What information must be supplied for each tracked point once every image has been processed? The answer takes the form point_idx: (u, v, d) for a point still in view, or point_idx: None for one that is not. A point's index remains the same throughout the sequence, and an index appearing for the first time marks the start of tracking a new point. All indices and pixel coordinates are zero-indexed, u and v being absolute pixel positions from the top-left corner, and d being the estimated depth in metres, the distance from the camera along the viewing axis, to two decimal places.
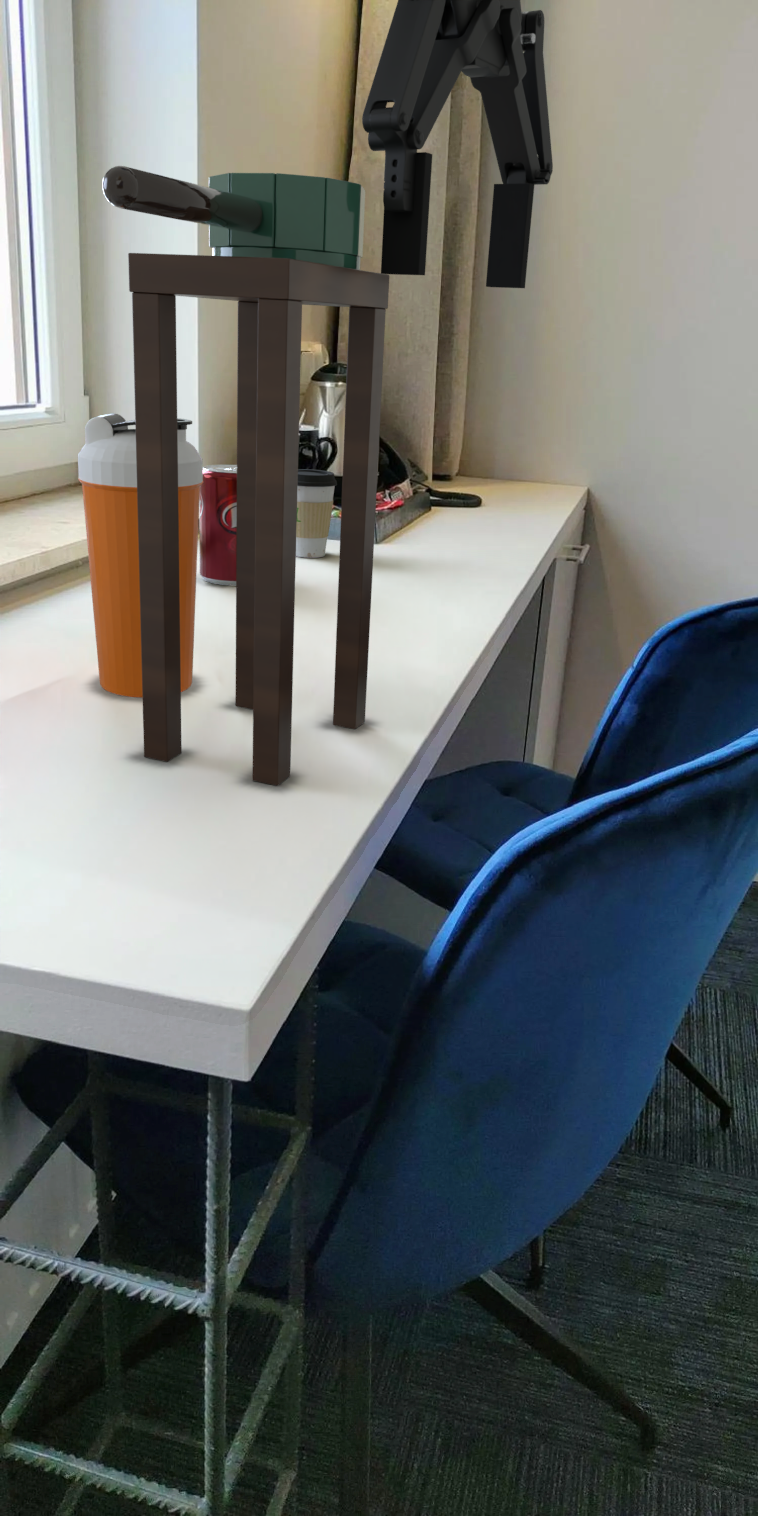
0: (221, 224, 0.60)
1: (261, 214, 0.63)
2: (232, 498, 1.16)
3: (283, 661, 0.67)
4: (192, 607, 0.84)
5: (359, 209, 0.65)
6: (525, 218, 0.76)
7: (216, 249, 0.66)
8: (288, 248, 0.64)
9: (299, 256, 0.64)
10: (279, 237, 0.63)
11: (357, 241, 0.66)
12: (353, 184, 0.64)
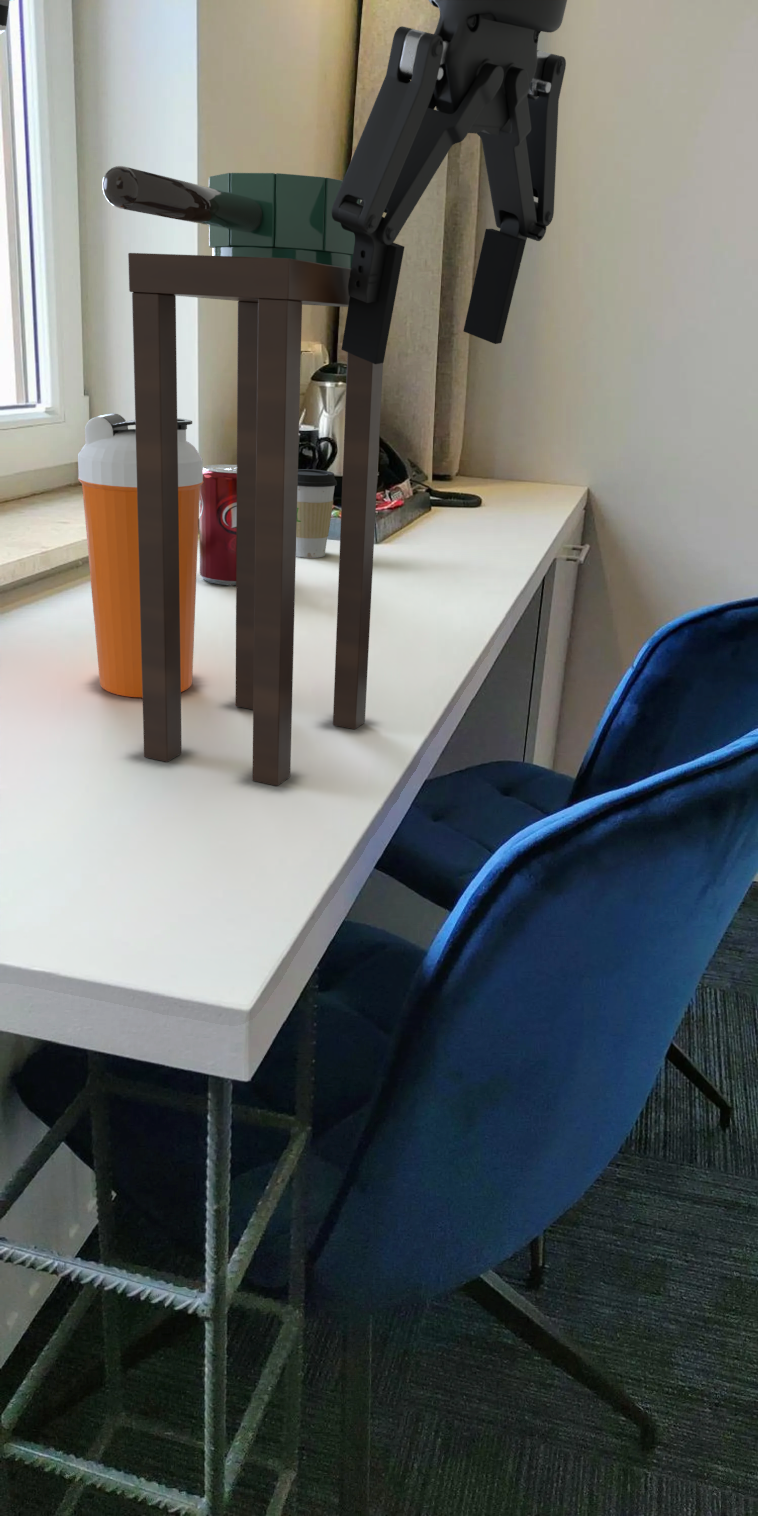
0: (221, 224, 0.60)
1: (261, 214, 0.63)
2: (232, 498, 1.16)
3: (283, 661, 0.67)
4: (192, 607, 0.84)
5: None
6: (510, 275, 0.72)
7: (216, 249, 0.66)
8: (288, 248, 0.64)
9: (299, 256, 0.64)
10: (279, 237, 0.63)
11: None
12: None
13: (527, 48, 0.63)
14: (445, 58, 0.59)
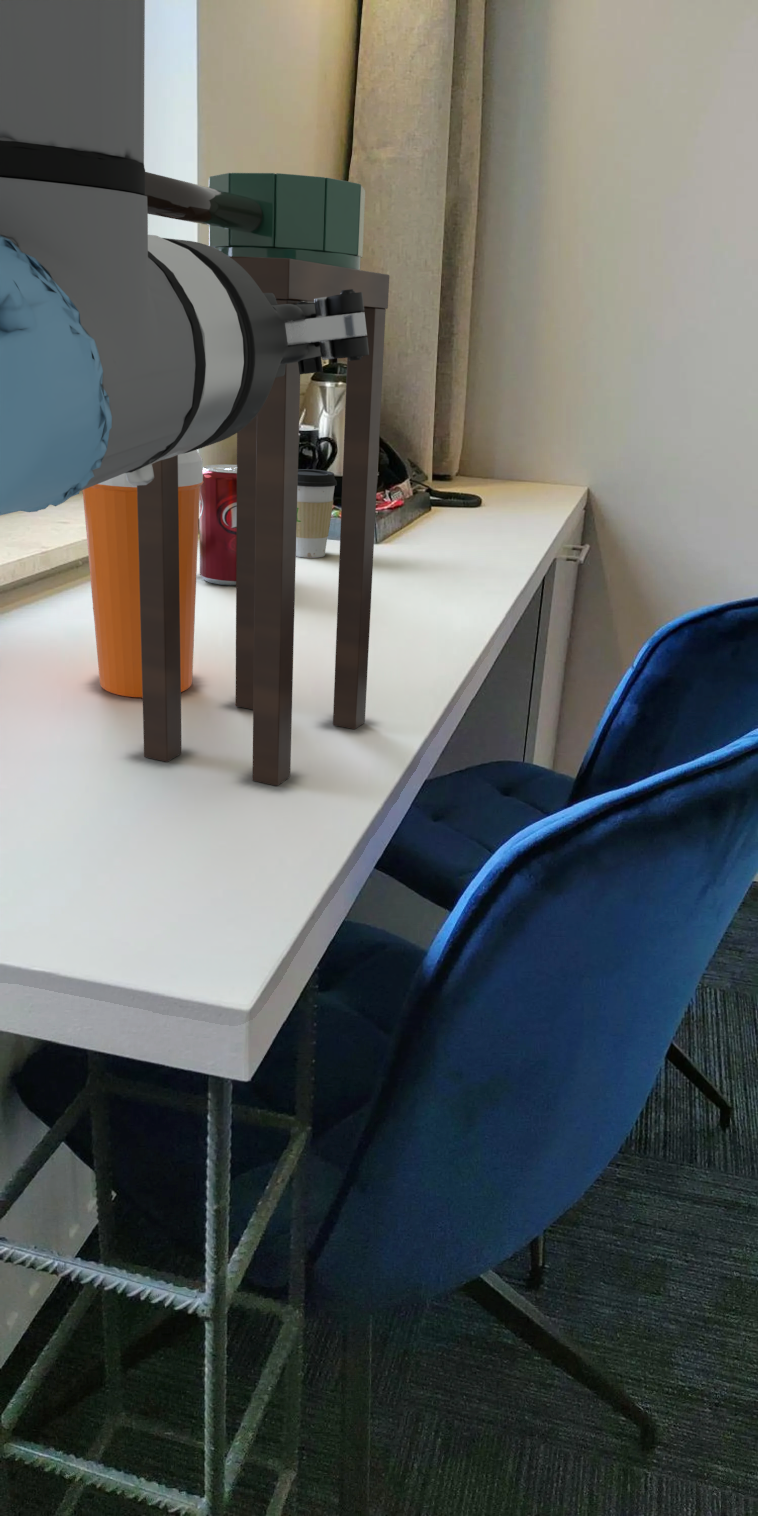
0: (221, 224, 0.60)
1: (261, 214, 0.63)
2: (232, 498, 1.16)
3: (283, 661, 0.67)
4: (192, 607, 0.84)
5: (359, 209, 0.65)
6: None
7: None
8: (288, 248, 0.64)
9: (299, 256, 0.64)
10: (279, 237, 0.63)
11: (357, 241, 0.66)
12: (353, 184, 0.64)
13: None
14: None
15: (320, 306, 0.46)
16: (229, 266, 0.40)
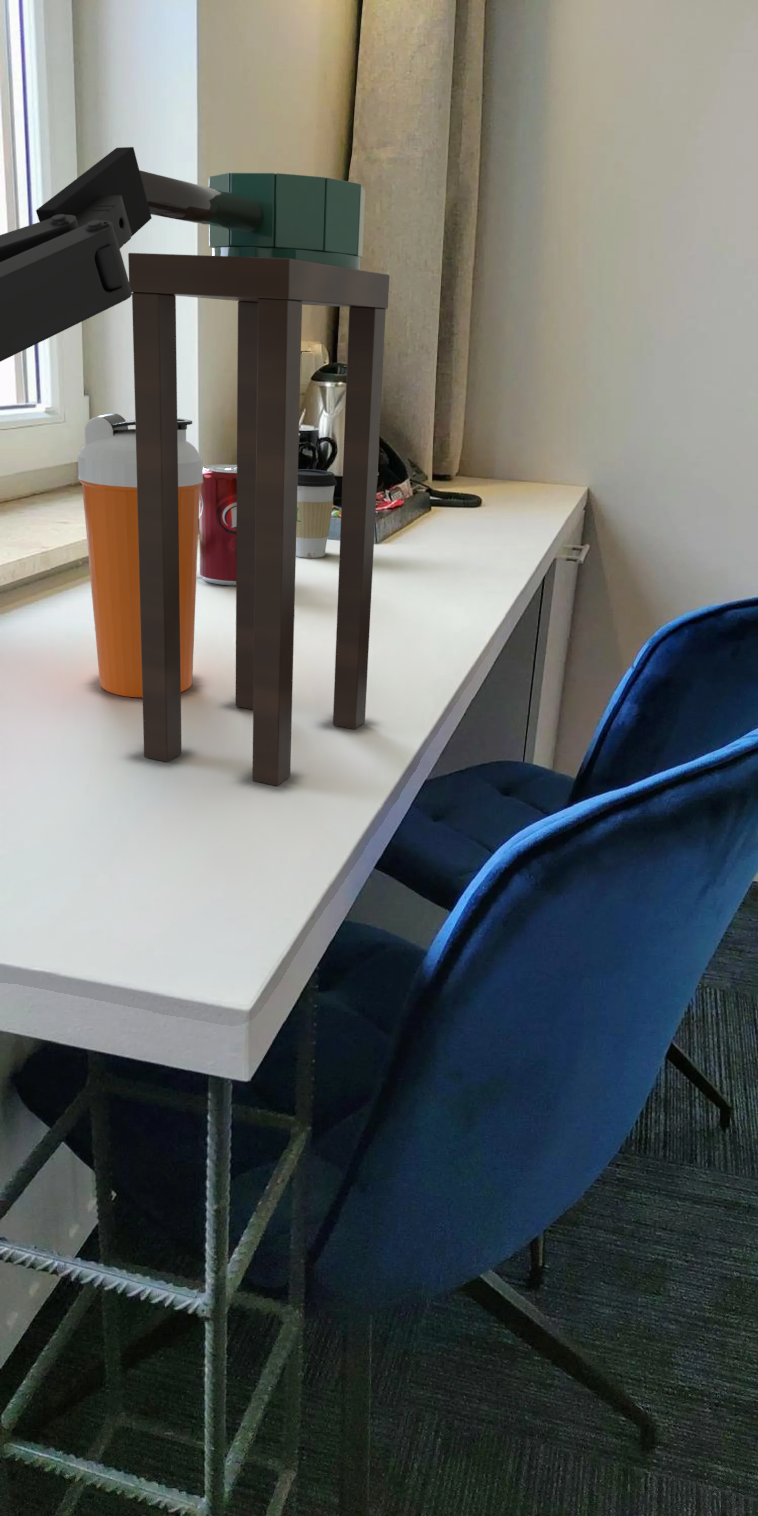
0: (221, 224, 0.60)
1: (261, 214, 0.63)
2: (232, 498, 1.16)
3: (283, 661, 0.67)
4: (192, 607, 0.84)
5: (359, 209, 0.65)
6: None
7: (216, 249, 0.66)
8: (288, 248, 0.64)
9: (299, 256, 0.64)
10: (279, 237, 0.63)
11: (357, 241, 0.66)
12: (353, 184, 0.64)
13: None
14: None
15: None
16: None
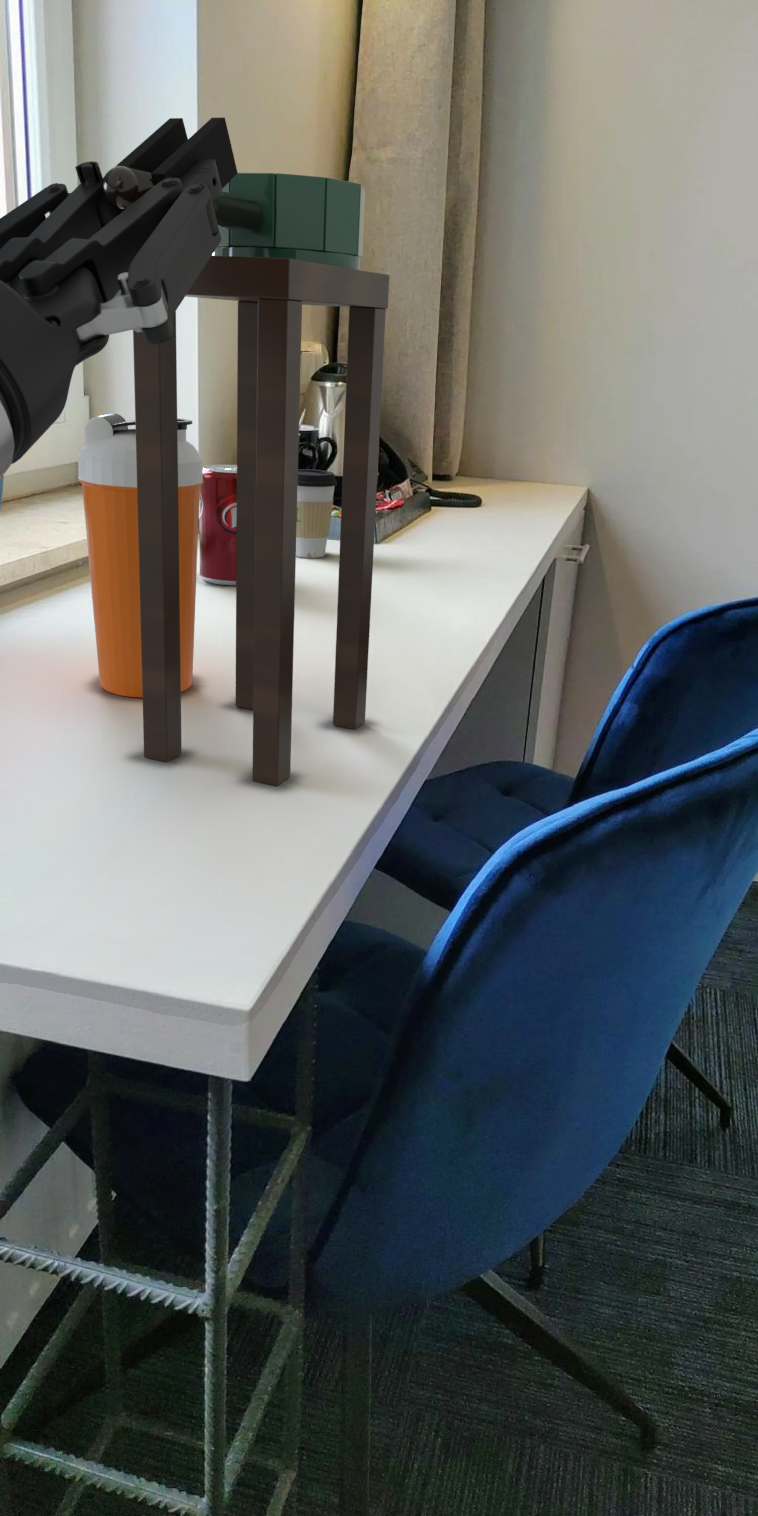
0: (221, 224, 0.60)
1: (261, 214, 0.63)
2: (232, 498, 1.16)
3: (283, 661, 0.67)
4: (192, 607, 0.84)
5: (359, 209, 0.65)
6: None
7: (216, 249, 0.66)
8: (288, 248, 0.64)
9: (299, 256, 0.64)
10: (279, 237, 0.63)
11: (357, 241, 0.66)
12: (353, 184, 0.64)
13: None
14: None
15: (122, 286, 0.46)
16: None
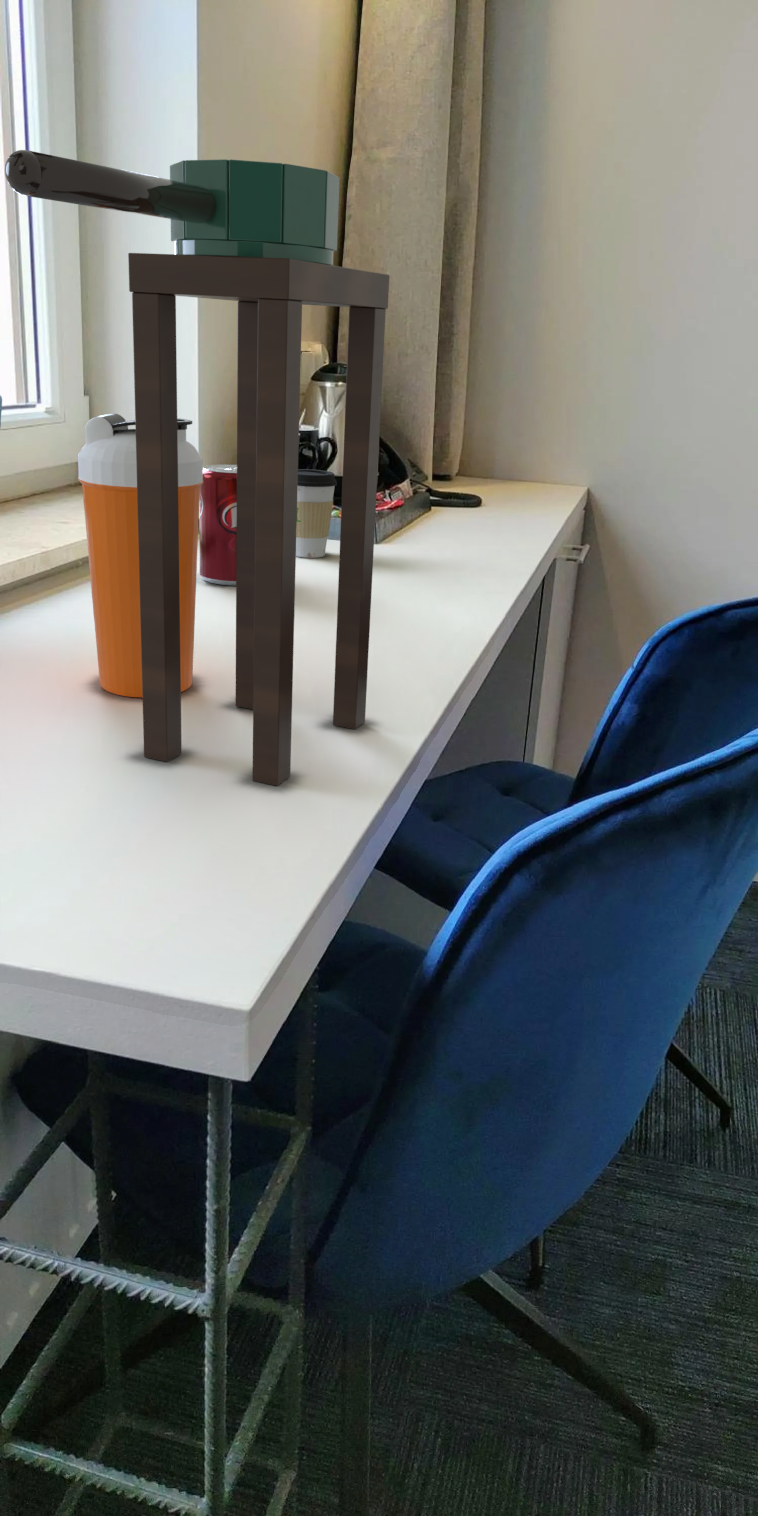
0: (161, 214, 0.56)
1: (213, 204, 0.58)
2: (232, 498, 1.16)
3: (283, 661, 0.67)
4: (192, 607, 0.84)
5: (326, 198, 0.60)
6: None
7: (175, 242, 0.62)
8: (243, 240, 0.59)
9: (255, 248, 0.59)
10: (233, 228, 0.59)
11: (324, 232, 0.61)
12: (317, 171, 0.59)
13: None
14: None
15: None
16: None
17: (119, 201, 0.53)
